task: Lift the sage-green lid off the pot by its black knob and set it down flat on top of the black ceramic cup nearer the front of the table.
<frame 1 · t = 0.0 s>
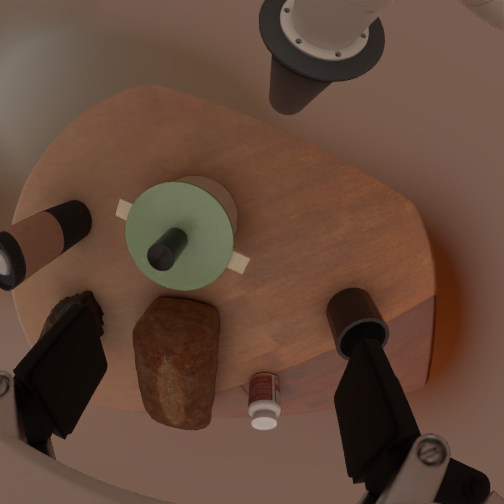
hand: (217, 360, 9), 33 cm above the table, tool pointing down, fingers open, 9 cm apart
pot: (195, 217, 42), on the table
bread: (186, 351, 52), on the table
lid: (177, 237, 33), point 9 cm above the table, touching pot
owl: (82, 311, 50), on the table
travel mug: (77, 219, 43), on the table
cup: (349, 308, 46), on the table
pill bottle: (264, 380, 54), on the table
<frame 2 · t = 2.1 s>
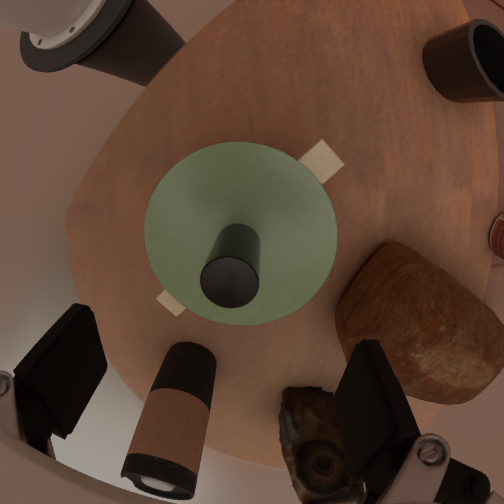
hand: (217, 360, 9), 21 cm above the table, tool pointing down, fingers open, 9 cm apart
pot: (246, 208, 28), on the table
bread: (421, 312, 33), on the table
lid: (238, 241, 20), point 9 cm above the table, touching pot
owl: (305, 407, 40), on the table
travel mug: (191, 359, 37), on the table
cup: (450, 69, 21), on the table
pill bottle: (499, 232, 28), on the table
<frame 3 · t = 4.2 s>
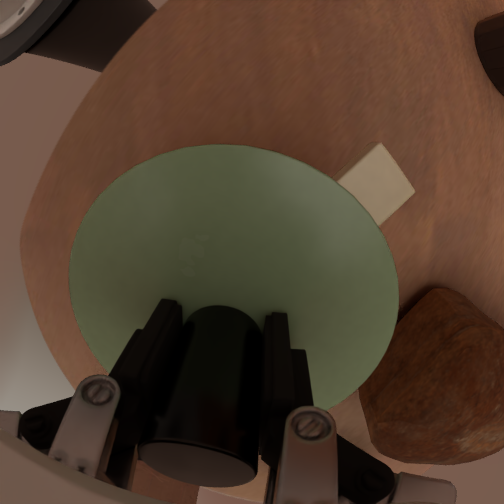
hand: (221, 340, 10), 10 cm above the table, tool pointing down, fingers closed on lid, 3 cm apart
pot: (242, 243, 20), on the table
bread: (455, 359, 24), on the table
lid: (224, 327, 11), point 10 cm above the table, touching gripper, pot
travel mug: (179, 414, 28), on the table
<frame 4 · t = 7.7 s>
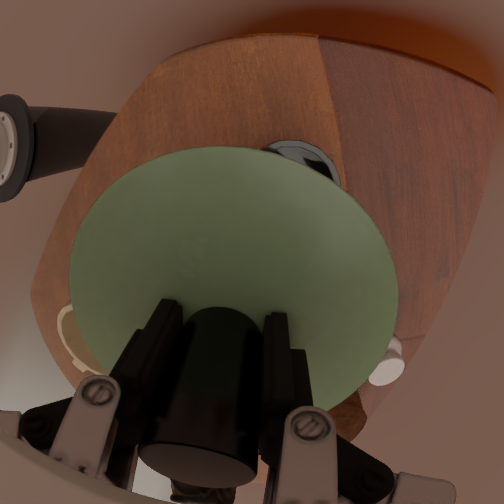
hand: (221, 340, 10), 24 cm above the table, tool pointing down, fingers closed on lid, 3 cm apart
pot: (123, 307, 39), on the table
bread: (277, 379, 43), on the table
lid: (224, 329, 11), point 23 cm above the table, touching gripper
owl: (204, 430, 51), on the table
cup: (284, 177, 31), on the table
pill bottle: (362, 319, 38), on the table
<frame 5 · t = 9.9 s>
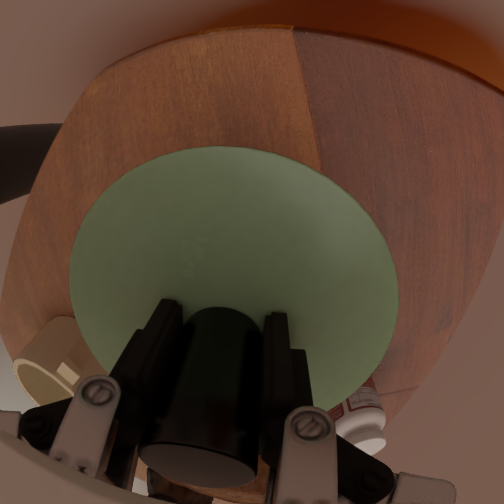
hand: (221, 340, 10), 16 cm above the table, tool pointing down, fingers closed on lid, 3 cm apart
pot: (82, 352, 32), on the table
bread: (250, 428, 37), on the table
lid: (224, 329, 11), point 15 cm above the table, touching gripper
owl: (180, 464, 44), on the table
pill bottle: (345, 377, 32), on the table
when the fingers open (10 cm above the table, at t = 11.3 s): lid stays where it is, resting on cup.
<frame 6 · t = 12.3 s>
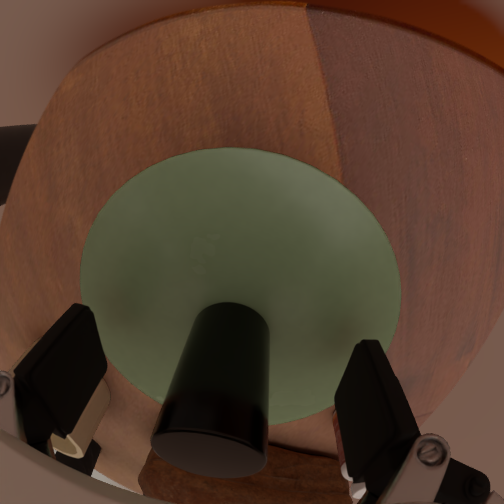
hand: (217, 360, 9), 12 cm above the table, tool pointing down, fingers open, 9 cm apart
pot: (69, 375, 28), on the table
bread: (252, 455, 32), on the table
lid: (232, 324, 11), point 10 cm above the table, touching cup
travel mug: (85, 439, 37), on the table
pill bottle: (357, 407, 27), on the table
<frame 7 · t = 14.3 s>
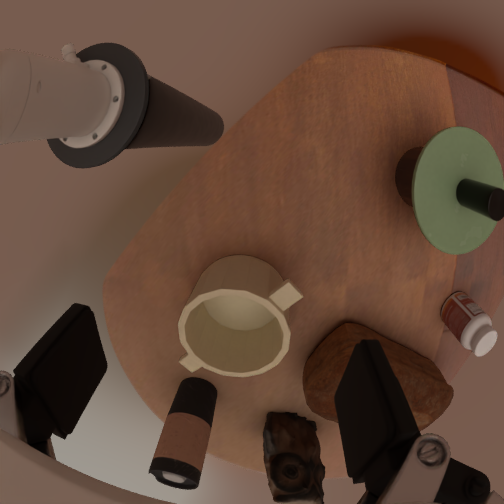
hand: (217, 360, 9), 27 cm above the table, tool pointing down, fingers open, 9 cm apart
pot: (241, 296, 39), on the table
bread: (376, 365, 43), on the table
lid: (462, 191, 22), point 10 cm above the table, touching cup
owl: (284, 426, 51), on the table
travel mug: (198, 389, 48), on the table
cup: (421, 178, 31), on the table, touching lid
pill bottle: (453, 305, 38), on the table
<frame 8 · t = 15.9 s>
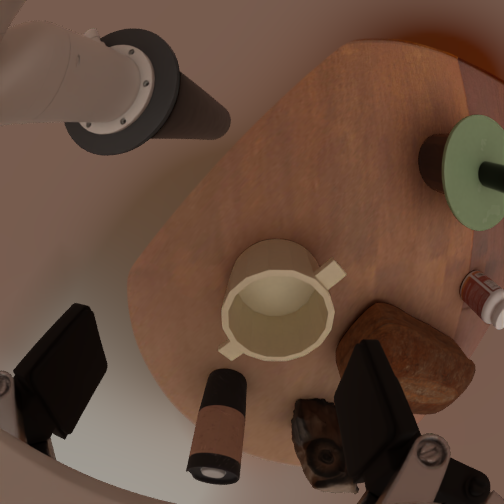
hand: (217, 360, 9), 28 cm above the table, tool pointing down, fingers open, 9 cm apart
pot: (276, 281, 39), on the table
bread: (402, 345, 44), on the table
lid: (482, 173, 23), point 10 cm above the table, touching cup
owl: (311, 413, 51), on the table
travel mug: (227, 380, 48), on the table
cup: (441, 162, 32), on the table, touching lid
pill bottle: (470, 284, 39), on the table
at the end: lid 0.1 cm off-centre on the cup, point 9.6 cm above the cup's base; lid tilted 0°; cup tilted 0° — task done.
